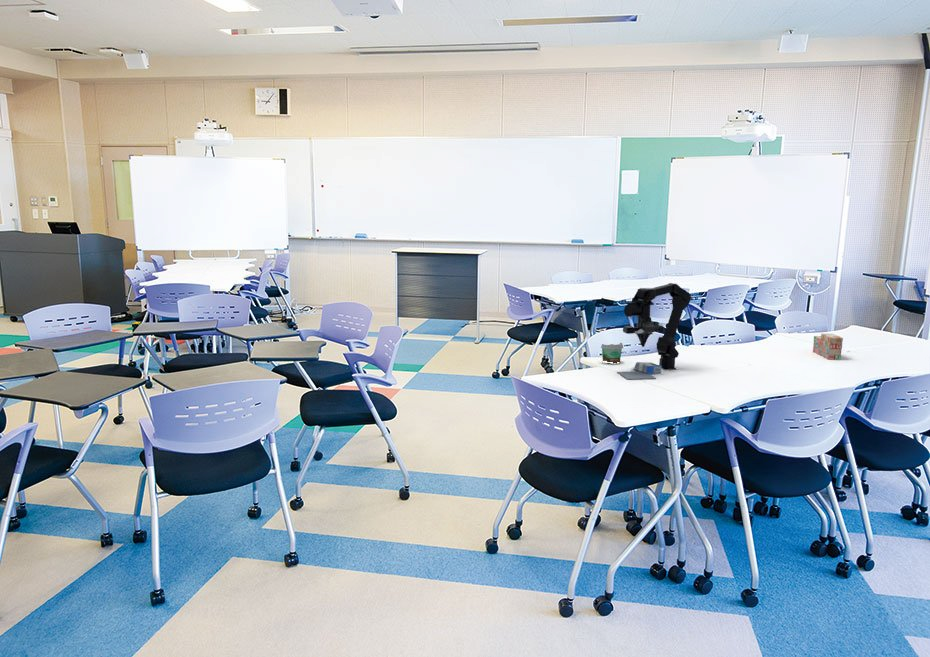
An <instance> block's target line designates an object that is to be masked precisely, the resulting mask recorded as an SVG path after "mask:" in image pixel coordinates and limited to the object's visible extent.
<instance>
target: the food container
mask: <svg viewBox="0 0 930 657" xmlns="http://www.w3.org/2000/svg"><path fill="white" fill-rule="evenodd" d="M600 349H601V352H602V353H601V354H602V362H603V361H607V362H613V363H617V362H620V363H621V356H622V351H623V350H622V349H624V345H623V343H622V342H619V344H613V343H612V344H604V343H602V344H601V346H600Z"/></svg>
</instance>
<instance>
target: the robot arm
mask: <svg viewBox="0 0 930 657" xmlns="http://www.w3.org/2000/svg"><path fill="white" fill-rule="evenodd" d="M667 294H669V296H670V297H671V304H672V305H671V306H672V310H671V311H670V312H671V313H670V314H669V319H668V322H667V325H666V328H665V327H664V325H661V324H659V321H653V320H652V317H651V306H655V303H654V302H653V300H654V299H656V298H657V297H660V296H663V295H667ZM691 300H692V296H691V294H690V292H689V291H687V290H686V289H684V288H682V287H680V285H679V284H677V283H672V282H671V283H670V282H669V283H667V284H663V285H660V286H659V285H658V286H655V287H652V288H651V287H644V288H643V287H639V288H638V289H637V291H636V293H635V294H634V296H633V298H632V300H631V302H630V301H627V304H626V305H625V306H624V308H623V313H624V315H625V316H626V317H628V318H630V317H636V319H637V324H636V326H632V325H624V326H623V328H622V332H623V333H625V334H629V335H630V334H631V335H632V334H635V335H636V337H637V338H638V339H639V340H638V341H639V343H640V345H641V347H642V348H645V345H646V343H647V341H648V339H649V337H650V336H651V335H653V333H655V331H657V333H664V334H663V335H662V336H659V337H658V339H657V342H656V351H657V355H658V356H660V358H659V360H658V362H659V364H658V365H660V366H662V368H661V370H677V368H676V367H675V366H676V365H675V364H676V358H678V357H679V354H680V353H679V351H678V350H677V349H676V344H677V343H676V339H675V337H676V334H677V331H678V327H679V324H680V322H681V318H682V315H683V312H684V310H685V309H686V308H687V307H688V306H689V304H690V302H691Z"/></svg>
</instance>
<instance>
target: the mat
mask: <svg viewBox="0 0 930 657" xmlns="http://www.w3.org/2000/svg"><path fill="white" fill-rule="evenodd" d="M616 373H617V374H618V375H619V374H620V376H621V377H622V378H623V379H625V380H627V381H633V380H635V381H636V380H640V381H641V380H657V377H656V376H653V374H651V373H644V372H641V371H639V370H636V371H635V370H633V371H631V370H630V371H627V370H626V371H616Z"/></svg>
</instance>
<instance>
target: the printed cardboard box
mask: <svg viewBox="0 0 930 657" xmlns="http://www.w3.org/2000/svg"><path fill="white" fill-rule="evenodd" d="M843 340H844V337H841V336H839V335H837V334H835V333H820V335H814V336H813V346H812V353H814V354H816V355H818V356H820V357H822V358H823V359H826V360H828V361H841V357H842V348H843Z"/></svg>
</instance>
